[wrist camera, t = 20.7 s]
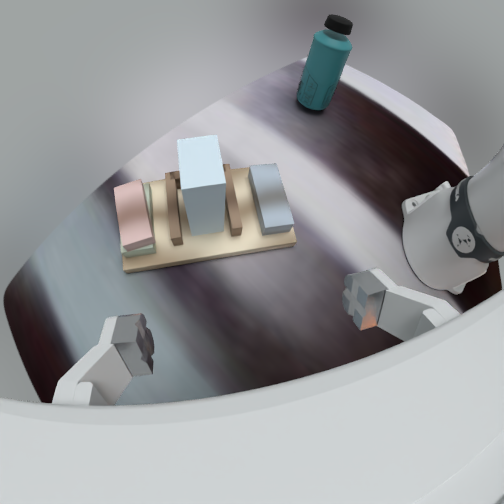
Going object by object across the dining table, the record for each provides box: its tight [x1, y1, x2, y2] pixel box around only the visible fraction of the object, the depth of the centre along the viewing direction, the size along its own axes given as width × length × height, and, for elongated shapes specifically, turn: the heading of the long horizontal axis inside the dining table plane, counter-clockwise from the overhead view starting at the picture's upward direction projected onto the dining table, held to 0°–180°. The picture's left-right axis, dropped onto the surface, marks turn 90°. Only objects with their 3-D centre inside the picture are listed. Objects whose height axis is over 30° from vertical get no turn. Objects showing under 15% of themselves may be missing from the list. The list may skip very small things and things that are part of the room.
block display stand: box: [114, 163, 297, 273], centre depth 34 cm, size 12×22×6 cm, turn 102°
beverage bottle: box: [296, 15, 353, 110], centre depth 37 cm, size 6×7×20 cm
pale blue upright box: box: [177, 135, 226, 236], centre depth 30 cm, size 6×4×11 cm, turn 12°
